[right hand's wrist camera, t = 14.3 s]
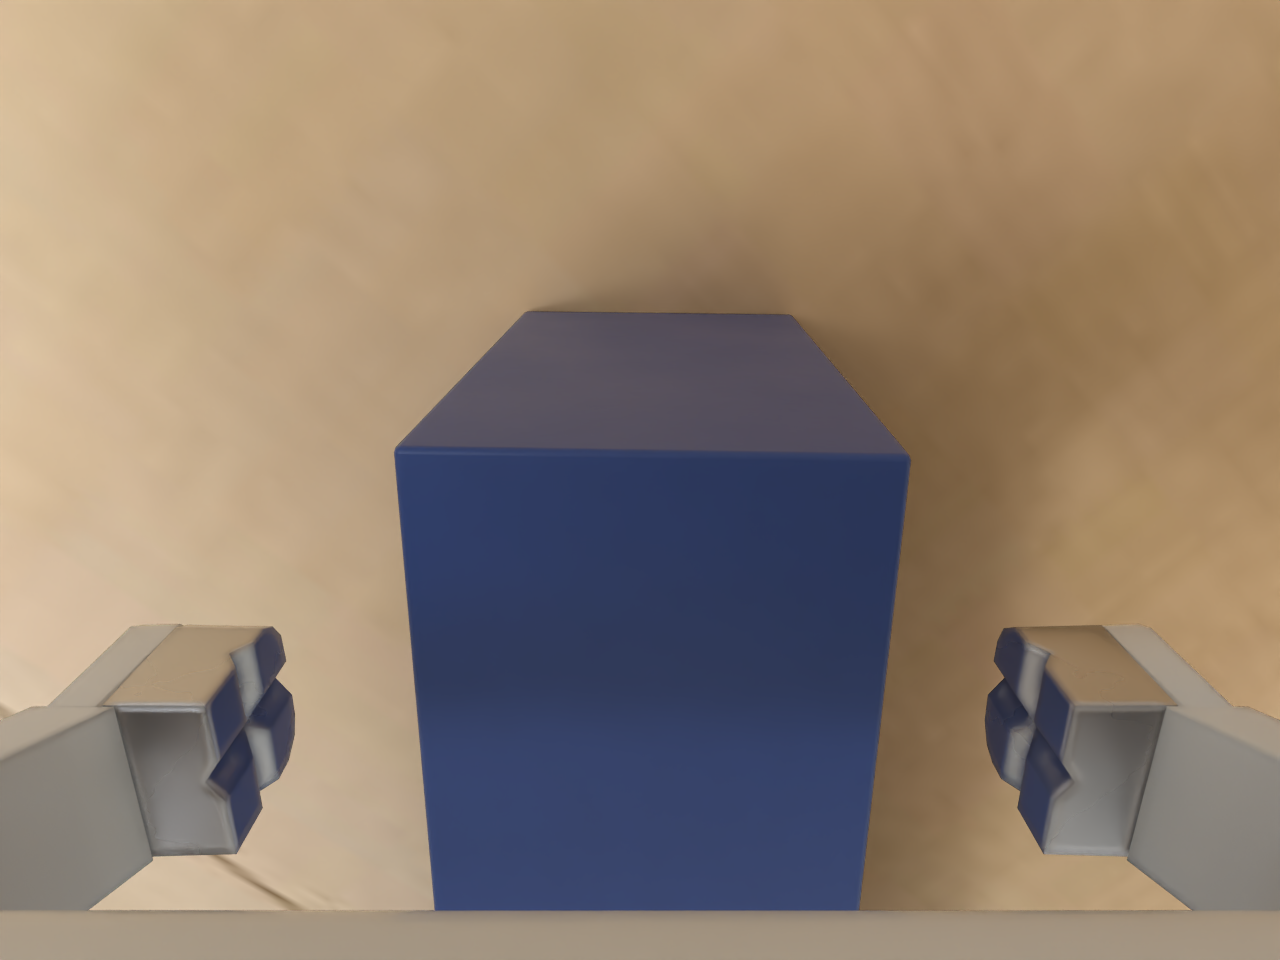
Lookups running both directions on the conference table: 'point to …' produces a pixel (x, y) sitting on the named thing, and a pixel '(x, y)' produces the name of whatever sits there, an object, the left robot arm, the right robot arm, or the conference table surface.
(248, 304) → the conference table surface
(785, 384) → the box
